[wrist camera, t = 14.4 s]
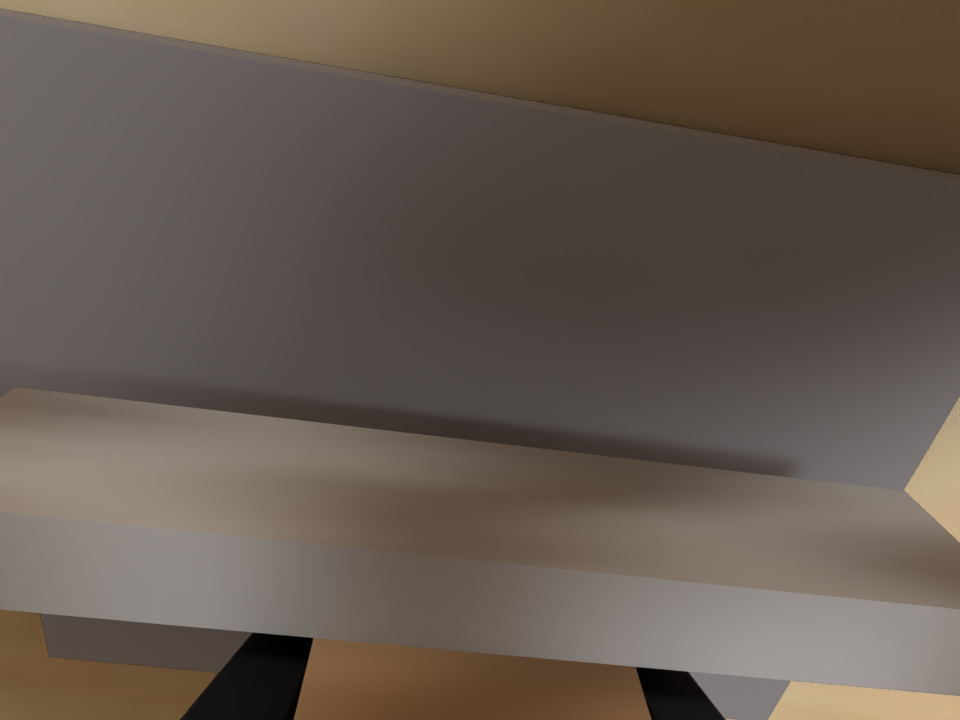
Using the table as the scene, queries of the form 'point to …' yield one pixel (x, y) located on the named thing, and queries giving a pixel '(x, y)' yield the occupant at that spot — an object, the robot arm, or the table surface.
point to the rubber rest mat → (458, 276)
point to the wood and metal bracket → (466, 560)
